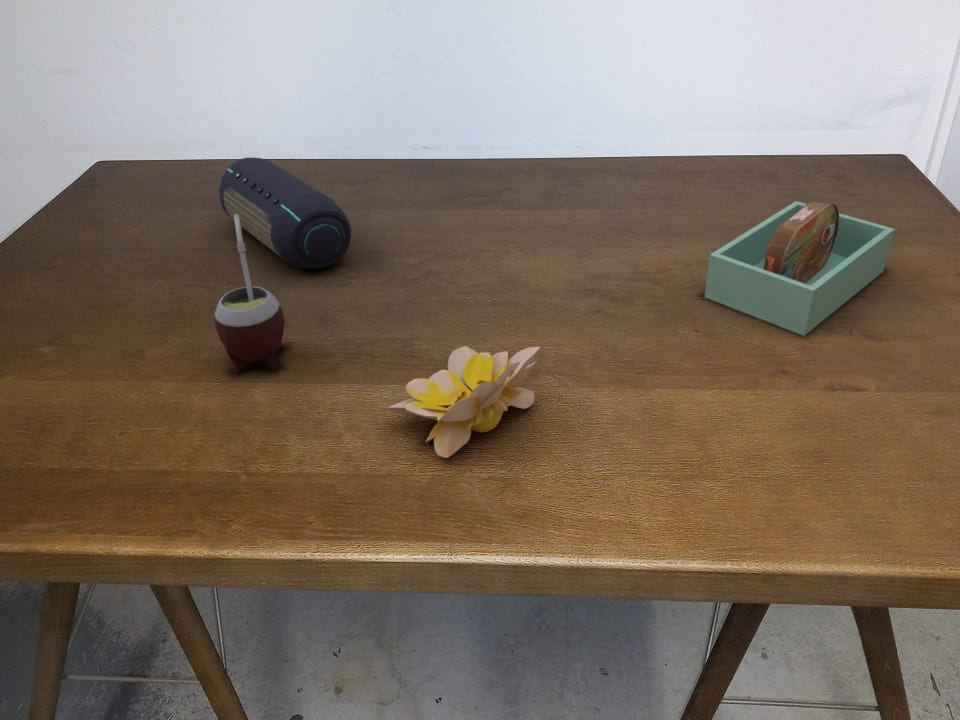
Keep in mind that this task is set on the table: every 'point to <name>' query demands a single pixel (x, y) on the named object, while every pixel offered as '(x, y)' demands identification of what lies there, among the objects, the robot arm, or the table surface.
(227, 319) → the mate gourd
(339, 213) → the portable speaker
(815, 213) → the tin
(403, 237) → the table surface
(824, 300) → the bin
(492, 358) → the decorative flower
